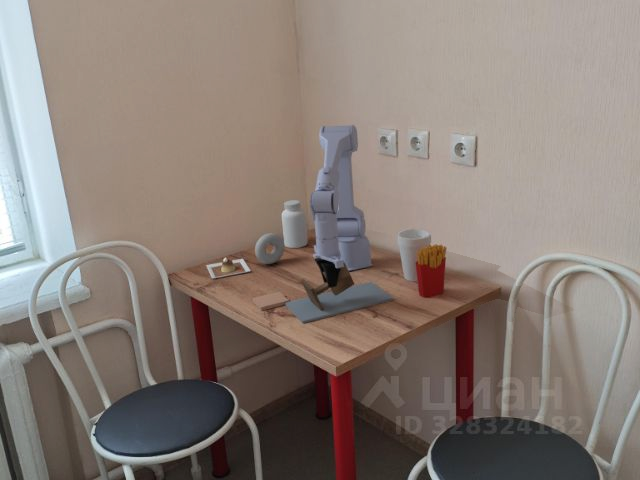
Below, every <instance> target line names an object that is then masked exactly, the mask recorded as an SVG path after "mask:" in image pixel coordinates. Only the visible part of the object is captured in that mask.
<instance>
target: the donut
mask: <svg viewBox="0 0 640 480" xmlns="http://www.w3.org/2000/svg"><path fill="white" fill-rule="evenodd" d="M269 245H273V249H272V251H271V252H270V253H268V252H267V250H266V249H267V247H268V246H269ZM284 252H285V244H284V239H283V238H282V237H281V236H280V235H279V234H277V233H274V232H270V233H265V234H263V235H262V236H261V237H259V239H258V240H257V241H256V243H255V247H254V253H255V257H256V258H257V259H258V261H259V262H260V263H263V264H266V265H273V264H274V263H277V262H278V261H279V260H280V259H281V258H282V256H283V255H284Z"/></svg>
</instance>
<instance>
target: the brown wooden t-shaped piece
mask: <svg viewBox="0 0 640 480" xmlns="http://www.w3.org/2000/svg"><path fill="white" fill-rule="evenodd" d="M323 274H324V276H325V278H326V275H325V272H323ZM353 279H354V278H352V275H351V274H350V271H348V268H347V266H346V264H345V263H344V267H342V268H341V270H340V272H339V276H338V282H337V286H335V287H331V288H329V286H328V284H327V282H325V283H324V282H323V283H322V284H321V285H318V286H317V287H316V288H314V287H312V285H311V284H309V283H308V281H307V280H305V279H303V278H302V279H301V280H300V282H301V284H302V287H303V289H304V290H305V292H306V294H307V297H309V298H310V300H311V302H312V303H313V304H314V305H315V306H316V307H317V308H319V309H320V310H321V311H322V310H323V307H322V305H321V303H320V301H319V299H318V297H317V296H318V295H319V294H322V293H325V292H326V291H327V290H329V289H330V290H331V291H332V293H333V294H334V295H335V296H337V295H338V294H340V293H341V292H343V291H345V290H346V289H348V288H349V287H351V286H355V282H354V280H353ZM326 280H327V279H326ZM331 291H330V292H331Z"/></svg>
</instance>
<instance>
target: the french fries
mask: <svg viewBox="0 0 640 480" xmlns="http://www.w3.org/2000/svg"><path fill="white" fill-rule="evenodd" d="M446 253H447V247H446V246H445V245H442V244H440V245H438V244H434V245H431V244H430V245H429V247H428V246H426V249H425V248H423V249H420V250H419V252H418V253H417V258H418V261H417V262H416V272H417V281H416V282H417V287H418V288H417V289H418V296H419V297H422V298H429V299H430V298H434V297H436V296H439V295H442V294H443V293H444V291H445V290H444V289H445V288H444V287H445V274H446V262H447V261H446V260H447V256H446Z"/></svg>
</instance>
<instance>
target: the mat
mask: <svg viewBox="0 0 640 480" xmlns="http://www.w3.org/2000/svg"><path fill="white" fill-rule="evenodd" d="M317 297H318V299H319V301H320V303H321V305H322V307H323V310H322V311H321V310H320V309H319V308H317V307H316V306H315V305H314V304H313V303H312V302H311V300H310V298H309V296H307V297H302V298H298V299H294V300H290V301H289V302H285V305H284V306H285V307H287V308H288V309H289V311H290V312H291V313H292V314H293V315H294V316H295V317H296V318H297V319H298V321H300V322H301V323H302V324H306V323H309V322H313V321H317V320H320V319H326V318H329V317H332V316H336V315H341V314H345V313H348V312H352V311H356V310H360V309H363V308H368V307H373V306H375V305H380V304H383V303H387V302H391V301H394V297H393V296H391V294H389V293H387V292H386V291H384V290H383V289H382V288H380V287H379V286H378V285H376V284H375V283H374V282H372V281H368V282H363V283H360V284H357V285H355V284H354V285H353V286H351V287H349V288H348V289H346V290H345V291H343V292H341V293H340V294H338V295H337V296H335V295H334V294H333V293H332V291H327V292H323V293H321V294H319V295H318V296H317Z"/></svg>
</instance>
